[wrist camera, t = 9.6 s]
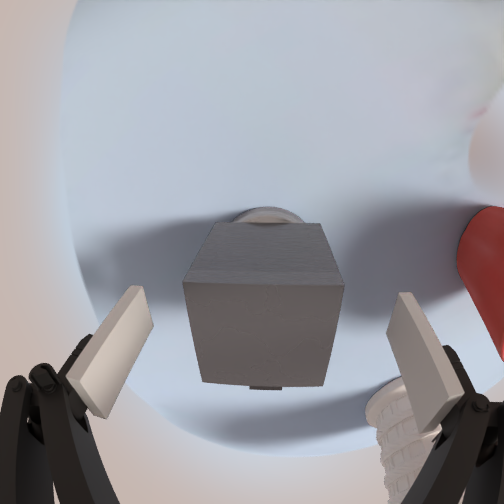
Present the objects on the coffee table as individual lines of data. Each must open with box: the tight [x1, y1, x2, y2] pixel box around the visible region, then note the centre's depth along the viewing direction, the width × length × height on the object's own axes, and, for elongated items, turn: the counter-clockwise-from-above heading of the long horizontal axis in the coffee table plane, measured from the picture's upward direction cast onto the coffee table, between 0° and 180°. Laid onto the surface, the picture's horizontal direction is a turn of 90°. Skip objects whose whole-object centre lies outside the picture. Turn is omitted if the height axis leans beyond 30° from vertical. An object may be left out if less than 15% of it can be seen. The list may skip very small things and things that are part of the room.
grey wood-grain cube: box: [183, 222, 344, 387], centre depth 15 cm, size 6×6×7 cm
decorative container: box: [365, 376, 466, 504], centre depth 20 cm, size 12×12×18 cm
